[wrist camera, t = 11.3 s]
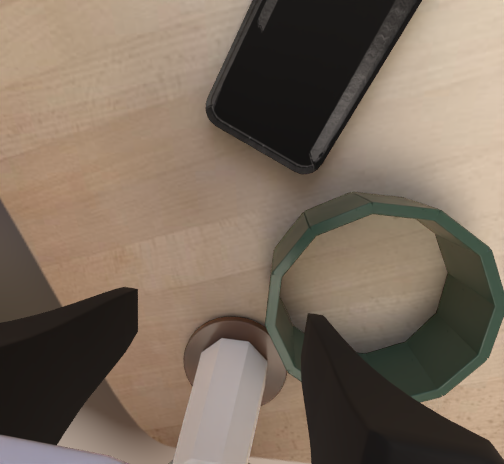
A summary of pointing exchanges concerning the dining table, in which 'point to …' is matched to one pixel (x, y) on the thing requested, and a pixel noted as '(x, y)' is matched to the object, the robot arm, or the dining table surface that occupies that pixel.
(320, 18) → the phone
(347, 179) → the dining table surface
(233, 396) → the salt shaker
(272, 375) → the coaster
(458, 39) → the dining table surface
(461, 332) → the green polygonal ring
